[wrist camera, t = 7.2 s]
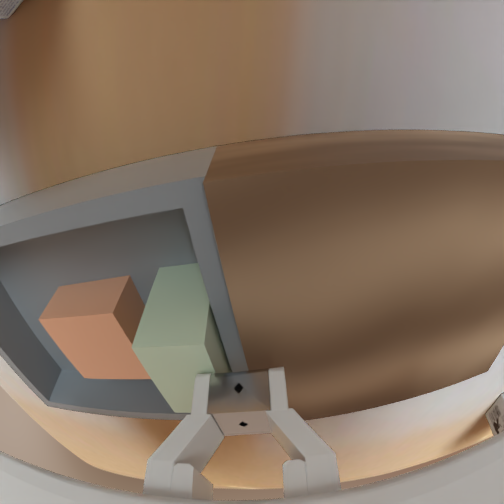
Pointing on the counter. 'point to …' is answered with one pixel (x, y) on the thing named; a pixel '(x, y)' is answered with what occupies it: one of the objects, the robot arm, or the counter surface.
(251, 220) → the walnut plate
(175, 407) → the sage tile
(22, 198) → the bin
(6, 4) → the medicine box
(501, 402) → the coffee box
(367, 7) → the counter surface
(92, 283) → the terracotta tile
